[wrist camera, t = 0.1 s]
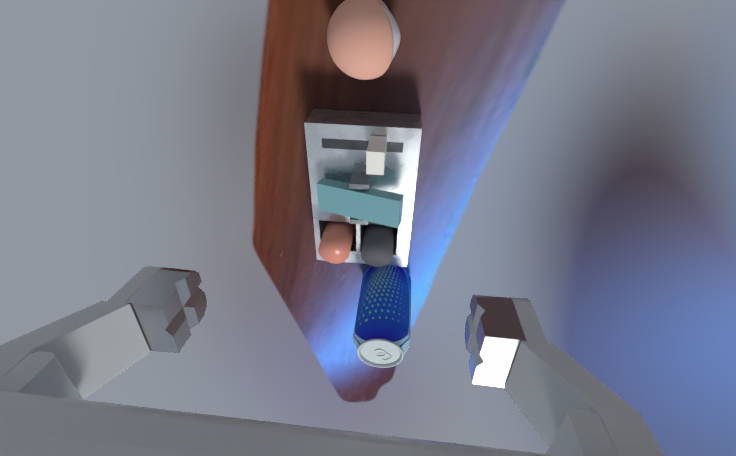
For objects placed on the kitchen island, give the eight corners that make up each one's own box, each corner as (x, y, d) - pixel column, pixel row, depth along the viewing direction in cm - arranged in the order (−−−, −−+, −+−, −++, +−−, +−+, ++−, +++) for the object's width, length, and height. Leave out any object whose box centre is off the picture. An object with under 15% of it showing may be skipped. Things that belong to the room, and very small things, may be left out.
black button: (365, 216, 53) (360, 241, 49) (395, 218, 53) (393, 244, 48) (365, 239, 56) (360, 265, 51) (393, 241, 56) (391, 268, 51)
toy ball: (403, 67, 43) (400, 86, 37) (339, 72, 44) (326, 91, 38) (400, -13, 38) (397, -7, 32) (329, -6, 39) (313, 1, 33)
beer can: (365, 291, 67) (353, 369, 54) (361, 257, 62) (347, 334, 49) (411, 292, 66) (410, 373, 53) (411, 257, 61) (410, 337, 48)
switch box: (313, 108, 47) (296, 133, 40) (421, 114, 46) (422, 140, 39) (323, 239, 60) (312, 274, 53) (407, 246, 59) (406, 283, 52)
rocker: (322, 177, 47) (316, 183, 45) (403, 194, 44) (400, 201, 42) (324, 203, 49) (318, 209, 48) (401, 221, 46) (397, 228, 45)
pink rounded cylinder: (325, 213, 54) (317, 238, 49) (355, 215, 53) (349, 240, 49) (327, 236, 56) (319, 262, 52) (355, 238, 56) (349, 264, 51)
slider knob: (370, 135, 43) (366, 151, 39) (387, 136, 43) (384, 152, 39) (370, 157, 45) (366, 174, 41) (386, 158, 44) (383, 175, 41)
